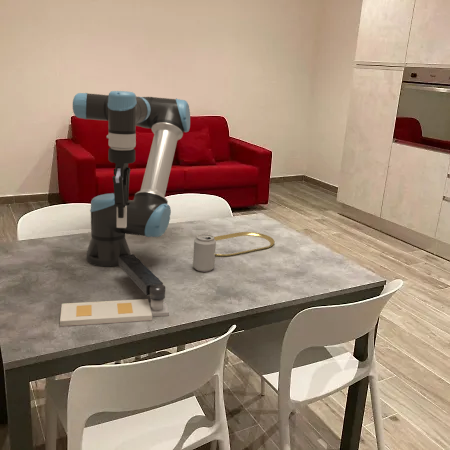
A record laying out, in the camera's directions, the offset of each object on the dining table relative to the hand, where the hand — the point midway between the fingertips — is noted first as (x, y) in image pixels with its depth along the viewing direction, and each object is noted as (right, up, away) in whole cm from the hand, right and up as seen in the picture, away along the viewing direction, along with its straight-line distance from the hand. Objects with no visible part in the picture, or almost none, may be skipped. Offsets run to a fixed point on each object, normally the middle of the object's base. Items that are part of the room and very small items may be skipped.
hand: (121, 227), depth 146 cm
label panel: (0, -24, -9) cm, 26 cm away
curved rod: (+35, -8, +51) cm, 63 cm away
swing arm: (+5, -16, +3) cm, 17 cm away
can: (+23, -15, +26) cm, 38 cm away
